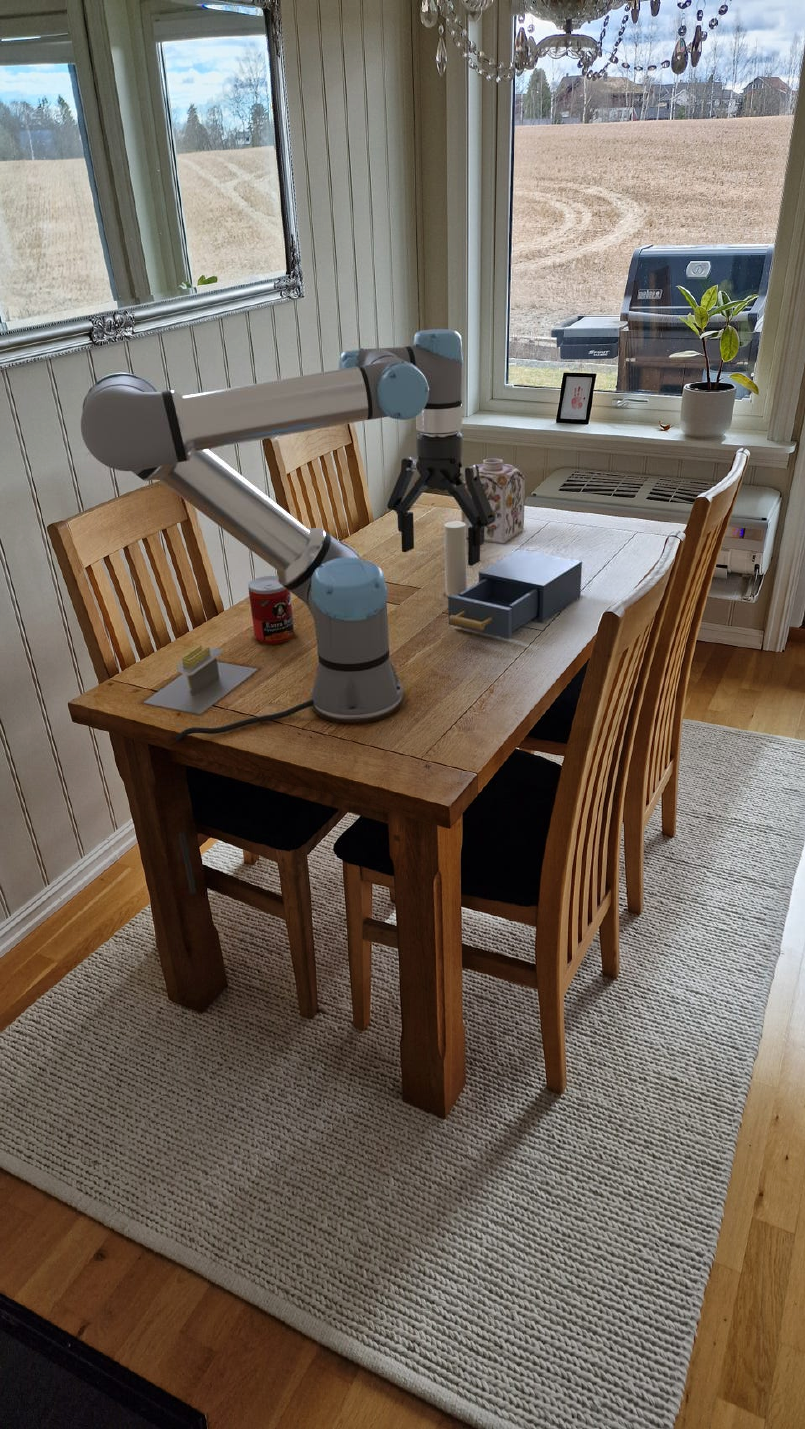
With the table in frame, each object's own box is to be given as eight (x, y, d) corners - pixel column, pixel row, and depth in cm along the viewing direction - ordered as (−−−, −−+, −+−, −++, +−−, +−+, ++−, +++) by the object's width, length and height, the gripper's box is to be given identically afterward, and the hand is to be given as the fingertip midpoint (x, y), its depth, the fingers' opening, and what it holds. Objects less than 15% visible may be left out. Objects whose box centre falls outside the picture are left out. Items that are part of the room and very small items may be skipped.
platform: (142, 702, 165) (135, 668, 162) (203, 659, 179) (198, 626, 176) (200, 714, 160) (194, 678, 157) (258, 668, 175) (254, 635, 171)
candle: (455, 599, 199) (454, 529, 192) (441, 594, 202) (439, 524, 195) (471, 593, 202) (470, 524, 195) (456, 588, 205) (455, 519, 198)
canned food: (266, 648, 182) (259, 593, 177) (247, 634, 188) (240, 581, 183) (301, 637, 186) (296, 584, 180) (282, 625, 192) (276, 572, 186)
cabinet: (542, 622, 187) (543, 585, 183) (479, 607, 195) (478, 572, 191) (580, 596, 198) (582, 561, 194) (518, 583, 206) (519, 549, 202)
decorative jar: (460, 538, 233) (459, 463, 225) (481, 524, 242) (481, 452, 233) (505, 544, 228) (506, 468, 219) (525, 530, 236) (527, 456, 228)
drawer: (495, 648, 176) (495, 618, 173) (435, 632, 183) (434, 604, 180) (547, 613, 189) (547, 585, 186) (488, 599, 196) (488, 572, 193)
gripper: (517, 435, 154) (514, 562, 164) (390, 420, 166) (394, 539, 177) (494, 445, 148) (491, 576, 158) (364, 428, 161) (369, 550, 171)
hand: (440, 556), depth 167 cm, fingers open, 13 cm apart
